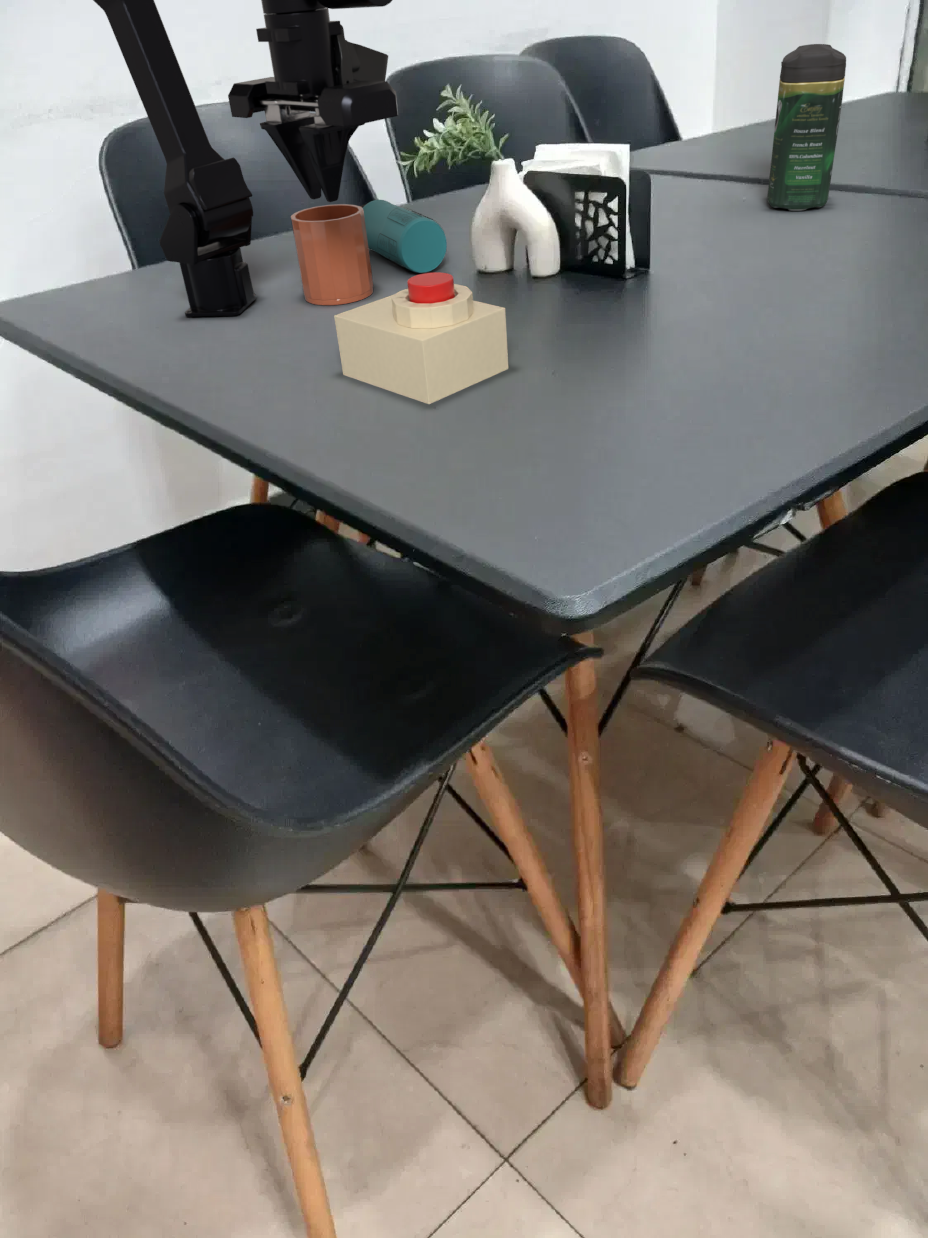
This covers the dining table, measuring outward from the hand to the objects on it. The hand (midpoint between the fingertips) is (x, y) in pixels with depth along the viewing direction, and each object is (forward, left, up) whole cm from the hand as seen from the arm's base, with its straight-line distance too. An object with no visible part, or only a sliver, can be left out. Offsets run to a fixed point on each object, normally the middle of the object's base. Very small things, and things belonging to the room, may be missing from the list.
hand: (324, 199), depth 94 cm
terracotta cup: (-4, +13, -13) cm, 19 cm away
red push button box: (+11, -12, -13) cm, 21 cm away
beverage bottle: (+6, +18, -10) cm, 22 cm away
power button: (+13, -13, -6) cm, 19 cm away
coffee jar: (+51, +47, -13) cm, 71 cm away
